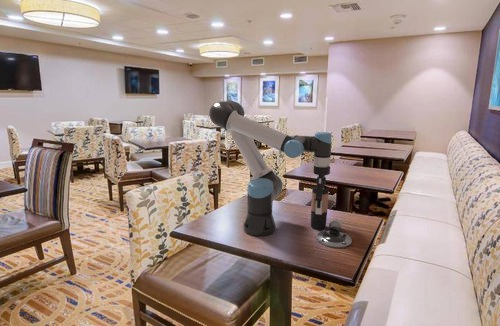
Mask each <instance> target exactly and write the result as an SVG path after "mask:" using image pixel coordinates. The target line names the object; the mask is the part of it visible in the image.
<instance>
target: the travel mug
mask: <svg viewBox="0 0 500 326" xmlns="http://www.w3.org/2000/svg"><path fill="white" fill-rule="evenodd" d="M311 189H312V190H311V206H310V228H311V229H314V230H317V231H323V230H325V229H326V228H327V220H328V219H327V217H328V208H329V207H328V206H329V203H328V202H329V189H330V187H329V186H328V185H325V186H324V188H323V193H322V215H320V214H315V213H316V201H314V199H316V191H317V185H315V186H314V185H313V186H312V187H311Z"/></svg>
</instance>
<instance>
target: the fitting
mask: <svg viewBox="0 0 500 326" xmlns="http://www.w3.org/2000/svg"><path fill="white" fill-rule="evenodd" d="M328 229H329V230H325V229H323V230H321V231H319V232H318V233H317V234H316V240H317V242H318V243H320V244H321V245H322V246H326V247H328V248H334V249H344V248H348V247H349V246H351V245H352V241H353V239H352V237H351V236H350V235H348V233H346V232H341V230H342V224H341V221H340V220H339V219H338V218H333V219H332V220H331V221H330V223H329V224H328Z"/></svg>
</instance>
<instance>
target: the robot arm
mask: <svg viewBox="0 0 500 326" xmlns="http://www.w3.org/2000/svg"><path fill="white" fill-rule="evenodd" d="M209 119H210V121H211V122H212V124H214V125H215V126H217V127H219V128H221V129H224V131H225V133H228V134H230V135H231V137H232V139H233V141H234V144H235V145H236V146H237V149H238V151H239V152H240V154H241V156H242V158H243V160H244V162H245V164H246V166H247V167H248V169H249V171H250V173H251V175H252V178H251V180H249V182H248V183H247V188H246V189H247V190H246V193H247V195H246V196H247V201H246V203H247V204H246V205H247V208H246V209H247V213H246V216H245V219H244V222H243V232H244V233H246V234H247V235H250V236H257V237H266V236H270V235H273V234H274V233H276V228H277V227H276V222H275V219H274V215H273V202H274V200H276V198H278V197H279V196H280V195H281V193H282V190H283V181H282V179H281V178H280V176H278V175H276V173H275V172H274V170H273V168H269V167H268V165H267V163H266V162H265V159H264V158H263V156H262V154H261V152H260V150H259V148H258V147H257V145H256V143H255V141H258V142H259V143H262V144H264V145H267V146H268V147H270V148H273V149H275V150H278V151H279V152H282V153H284V154H285V155H286V156H287V157H288V158H290V159H295V158H298V157H300V156H302V154H303V153H313V170H312V171H313V174H314V175H316V176H317V178H316V186H317V191H316V199H314V201H316V213H315V214H320V215H322V193H323V188H324V186H326V181H327V177H326V176H328V175H330V174H331V162H332V161H333V159H332V158H331V157H332V145H333V144H332V142H333V141H332V133H330V132H328V131H316V132H314V135H312V136H311V135H299V134H298V135H297V134H296V135H288V134H286V133H284V132H281V131H279V130H277V129H274V128H271V127H269V126H268V125H265V124H262V123H261V122H257V121H256V120H254V119H250V118H248V117H246V116H245V110H244V107H243V106H242V104H240V103H239V102H237V101H234V100H227V101H225V100H222V101H220V100H219V101H217V102H215V103H213V104H212V106H210V109H209ZM254 140H255V141H254Z"/></svg>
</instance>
